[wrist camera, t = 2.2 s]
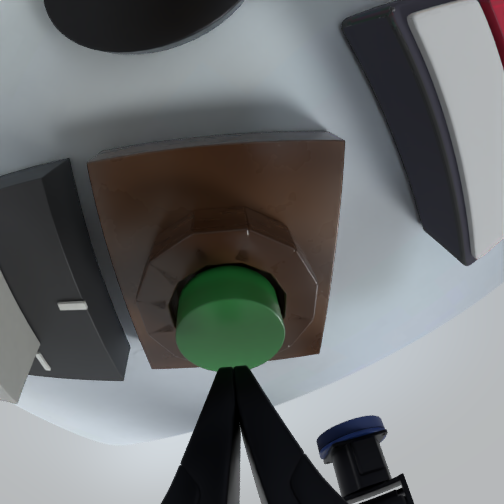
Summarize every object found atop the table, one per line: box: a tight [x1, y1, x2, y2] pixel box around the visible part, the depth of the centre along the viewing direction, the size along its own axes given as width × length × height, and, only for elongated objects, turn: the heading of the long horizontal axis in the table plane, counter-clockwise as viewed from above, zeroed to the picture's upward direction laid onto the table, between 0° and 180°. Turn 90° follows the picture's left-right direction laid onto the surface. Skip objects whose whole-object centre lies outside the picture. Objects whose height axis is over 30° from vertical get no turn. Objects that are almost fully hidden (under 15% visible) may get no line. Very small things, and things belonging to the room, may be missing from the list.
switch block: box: [87, 131, 345, 369], centre depth 13 cm, size 11×9×4 cm
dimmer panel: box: [0, 158, 130, 381], centre depth 12 cm, size 11×9×3 cm
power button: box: [175, 265, 285, 371], centre depth 11 cm, size 4×4×2 cm
